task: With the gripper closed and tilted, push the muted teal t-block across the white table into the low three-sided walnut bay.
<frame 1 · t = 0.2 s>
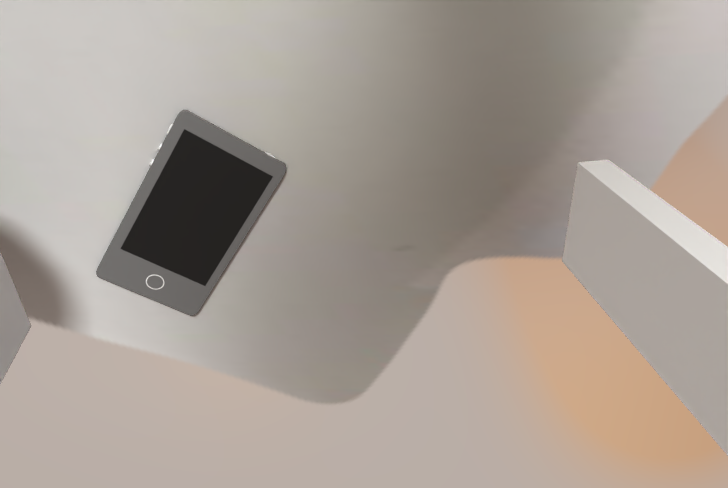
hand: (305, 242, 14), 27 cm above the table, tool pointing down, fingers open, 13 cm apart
smartphone: (189, 216, 43), on the table
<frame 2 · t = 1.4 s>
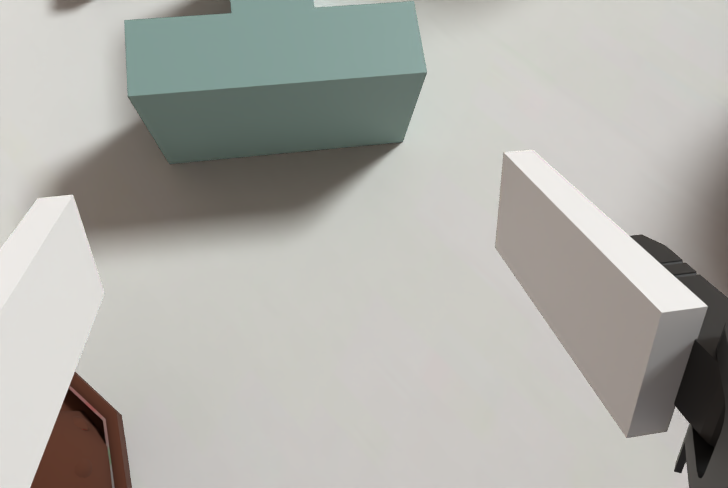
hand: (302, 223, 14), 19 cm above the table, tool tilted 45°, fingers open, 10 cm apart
ice cream bowl: (75, 467, 30), on the table
muted teal t-block: (276, 50, 37), on the table
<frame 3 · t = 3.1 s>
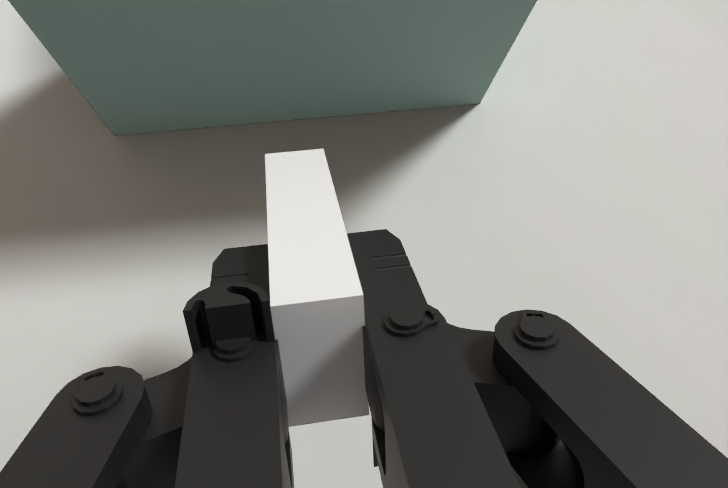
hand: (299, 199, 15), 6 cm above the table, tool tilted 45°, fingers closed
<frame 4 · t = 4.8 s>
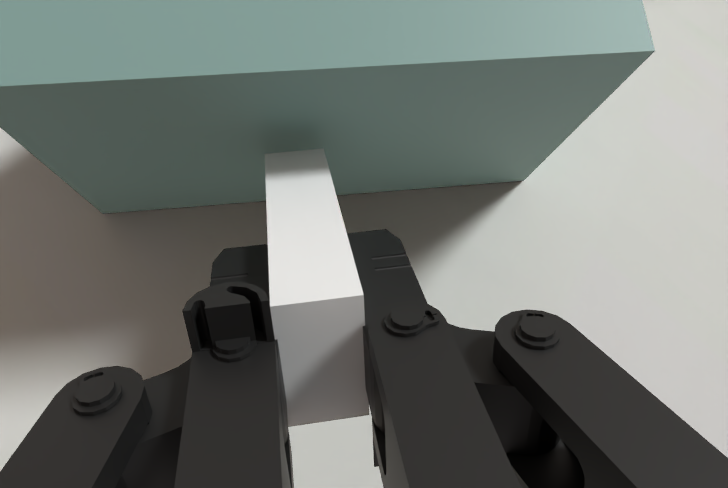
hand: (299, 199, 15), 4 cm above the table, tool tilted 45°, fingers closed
muted teal t-block: (303, 12, 21), on the table
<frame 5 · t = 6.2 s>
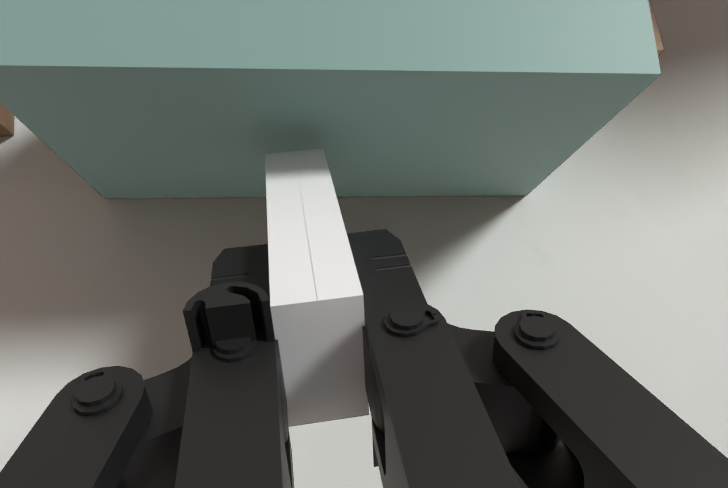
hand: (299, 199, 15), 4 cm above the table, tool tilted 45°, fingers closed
muted teal t-block: (319, 12, 21), on the table, touching gripper
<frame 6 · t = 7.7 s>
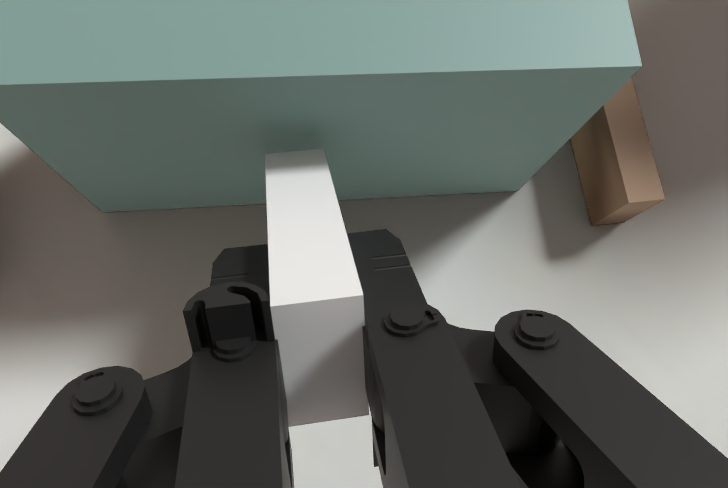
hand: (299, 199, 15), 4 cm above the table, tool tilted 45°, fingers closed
muted teal t-block: (305, 20, 21), on the table, touching gripper
walnut bay: (279, 44, 21), on the table
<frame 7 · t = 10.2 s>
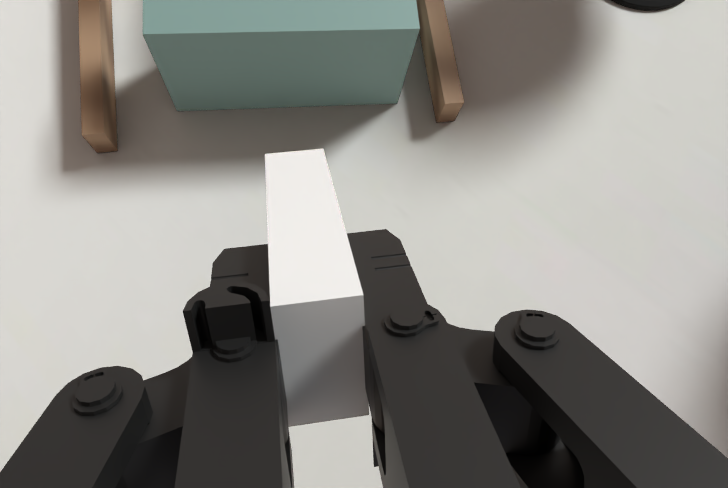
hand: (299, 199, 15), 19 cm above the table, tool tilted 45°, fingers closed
muted teal t-block: (283, 12, 39), on the table
walnut bay: (269, 26, 39), on the table
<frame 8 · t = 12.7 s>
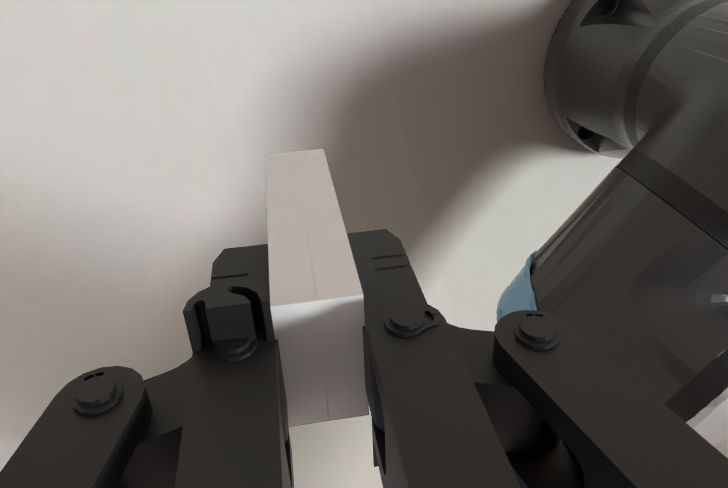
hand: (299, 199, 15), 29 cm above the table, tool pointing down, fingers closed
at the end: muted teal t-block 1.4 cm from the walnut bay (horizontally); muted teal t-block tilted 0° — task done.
